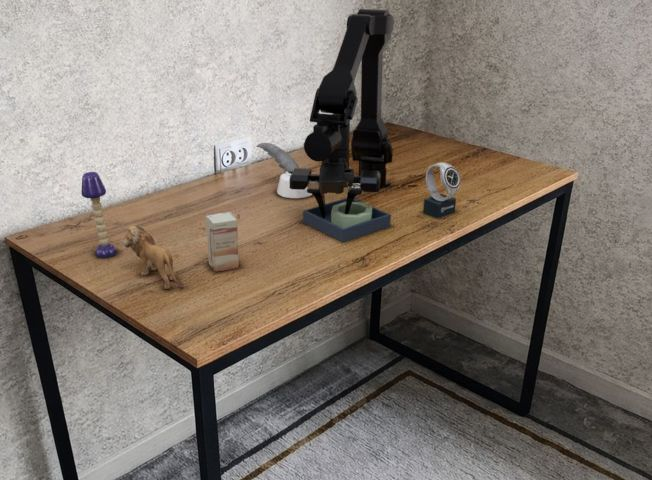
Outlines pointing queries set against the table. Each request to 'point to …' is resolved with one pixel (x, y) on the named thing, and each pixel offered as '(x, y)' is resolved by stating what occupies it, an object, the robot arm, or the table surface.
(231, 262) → the small carton box
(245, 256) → the table surface
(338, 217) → the ring
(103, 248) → the toy lamp
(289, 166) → the inkwell
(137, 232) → the lion figurine
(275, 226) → the table surface
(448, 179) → the watch
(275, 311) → the table surface
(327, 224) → the tray
